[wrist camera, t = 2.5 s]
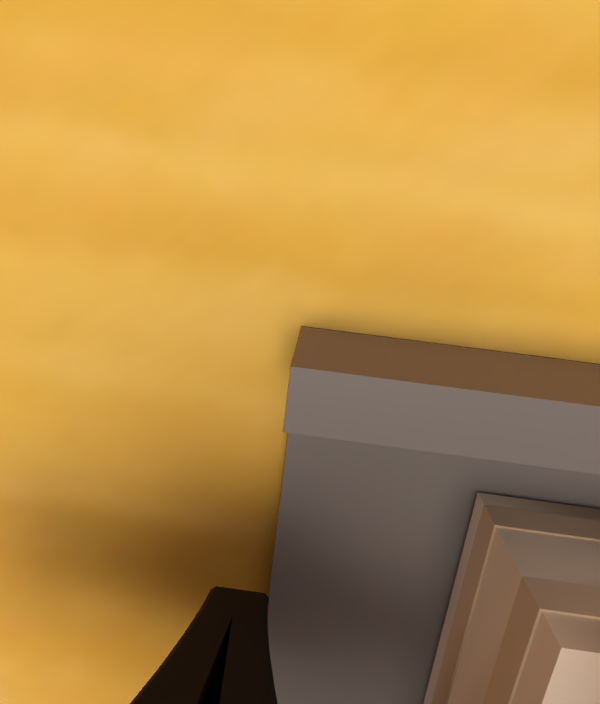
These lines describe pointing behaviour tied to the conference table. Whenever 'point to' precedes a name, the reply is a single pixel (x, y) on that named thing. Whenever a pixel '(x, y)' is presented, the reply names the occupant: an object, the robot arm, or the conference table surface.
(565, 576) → the tan layered slab
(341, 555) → the bay
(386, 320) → the conference table surface
